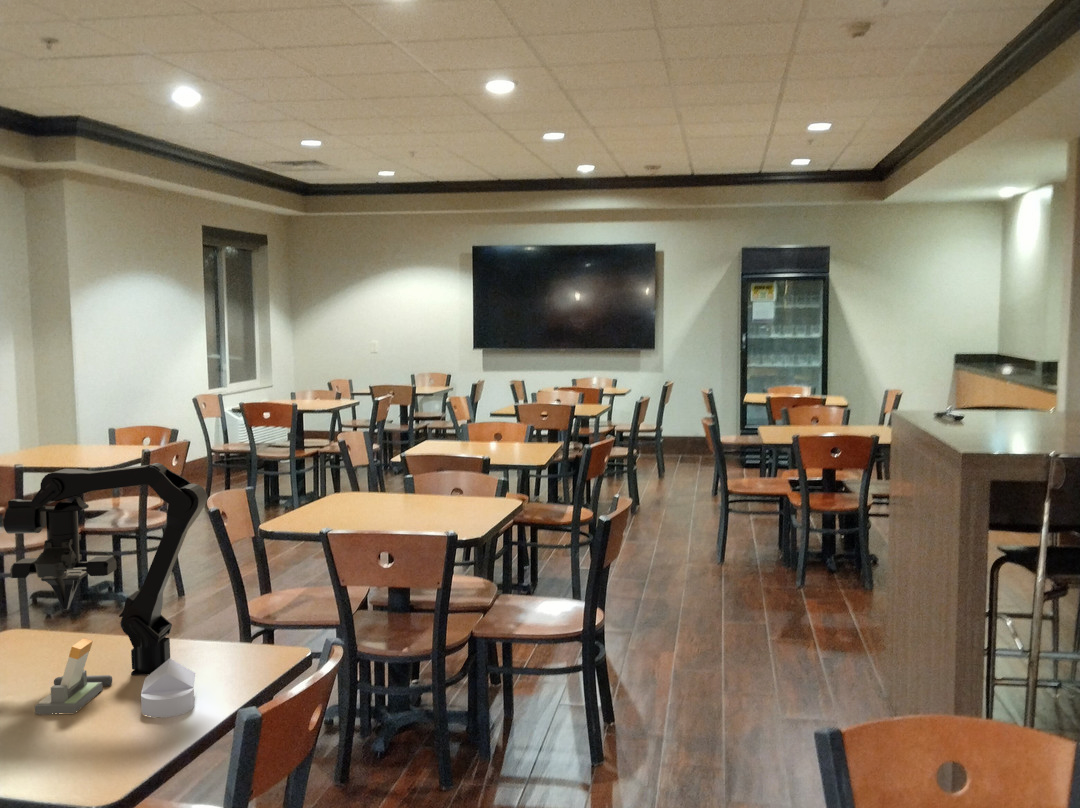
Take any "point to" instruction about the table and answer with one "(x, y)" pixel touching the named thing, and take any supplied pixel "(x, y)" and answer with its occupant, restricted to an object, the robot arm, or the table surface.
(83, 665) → the lever
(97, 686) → the panel
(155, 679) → the wedge on round base
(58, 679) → the grey double capsule
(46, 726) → the table surface
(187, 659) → the table surface
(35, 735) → the table surface
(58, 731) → the table surface
